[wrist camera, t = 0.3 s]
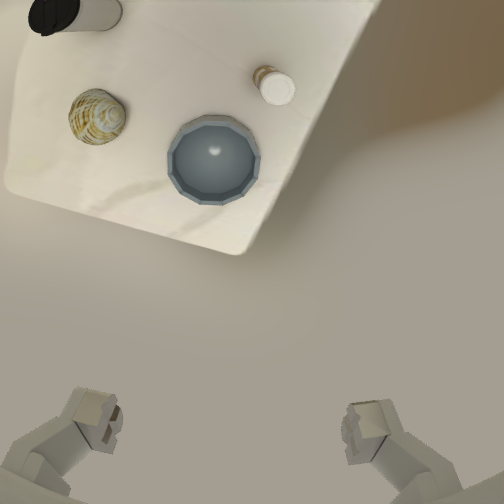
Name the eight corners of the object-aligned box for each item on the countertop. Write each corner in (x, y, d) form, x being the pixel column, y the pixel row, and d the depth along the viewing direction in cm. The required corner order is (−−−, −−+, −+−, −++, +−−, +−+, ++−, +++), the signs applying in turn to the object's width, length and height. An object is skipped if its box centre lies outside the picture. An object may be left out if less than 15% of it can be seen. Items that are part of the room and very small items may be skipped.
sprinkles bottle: (248, 71, 46) (254, 81, 35) (273, 61, 45) (288, 67, 34) (259, 94, 48) (269, 111, 38) (284, 84, 47) (301, 99, 37)
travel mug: (90, 36, 38) (26, 43, 22) (88, 3, 34) (24, -4, 18) (123, 28, 38) (69, 27, 23) (122, -6, 34) (68, -23, 19)
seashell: (64, 99, 44) (61, 100, 36) (113, 82, 47) (120, 78, 40) (78, 149, 50) (78, 159, 42) (125, 131, 53) (134, 137, 46)
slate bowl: (201, 99, 48) (199, 103, 45) (274, 146, 54) (278, 154, 51) (156, 169, 55) (151, 178, 52) (225, 208, 62) (225, 219, 59)
